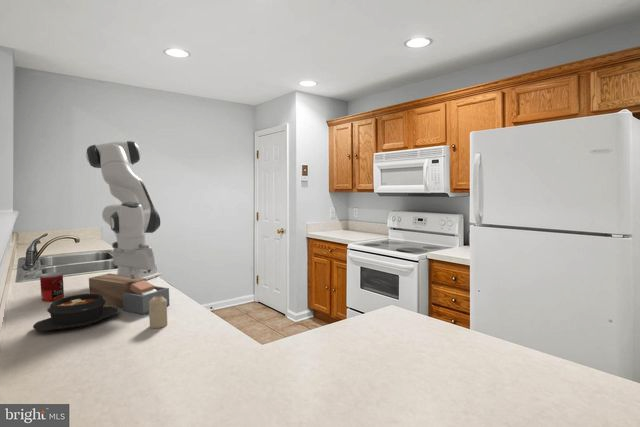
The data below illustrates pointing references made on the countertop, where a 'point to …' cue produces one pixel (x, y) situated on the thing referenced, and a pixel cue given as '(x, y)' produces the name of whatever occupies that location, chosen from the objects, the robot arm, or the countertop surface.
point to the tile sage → (148, 292)
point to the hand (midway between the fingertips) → (134, 278)
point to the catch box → (142, 300)
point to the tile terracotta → (141, 287)
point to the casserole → (75, 312)
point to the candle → (158, 312)
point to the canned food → (51, 286)
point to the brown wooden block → (111, 287)
